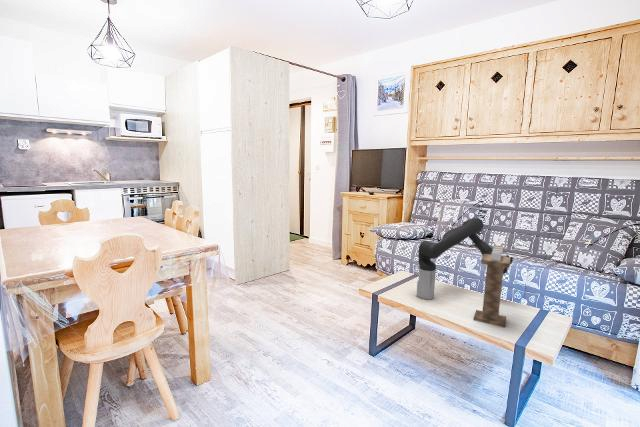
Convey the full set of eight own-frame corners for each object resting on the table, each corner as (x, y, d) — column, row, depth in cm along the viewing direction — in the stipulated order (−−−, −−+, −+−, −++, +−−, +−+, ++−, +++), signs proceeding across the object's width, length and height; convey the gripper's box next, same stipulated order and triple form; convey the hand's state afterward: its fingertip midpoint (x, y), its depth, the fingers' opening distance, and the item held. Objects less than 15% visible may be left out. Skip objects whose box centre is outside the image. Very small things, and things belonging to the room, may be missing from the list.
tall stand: (473, 320, 164) (479, 259, 160) (476, 311, 175) (481, 253, 171) (505, 328, 157) (512, 264, 152) (506, 318, 168) (512, 257, 163)
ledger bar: (490, 260, 158) (491, 253, 158) (493, 251, 175) (494, 245, 175) (500, 261, 156) (501, 254, 156) (502, 252, 173) (503, 246, 173)
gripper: (485, 255, 198) (484, 246, 185) (512, 259, 191) (513, 250, 178) (483, 266, 196) (482, 259, 183) (511, 271, 189) (512, 263, 176)
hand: (498, 254), depth 180 cm, fingers open, 8 cm apart
